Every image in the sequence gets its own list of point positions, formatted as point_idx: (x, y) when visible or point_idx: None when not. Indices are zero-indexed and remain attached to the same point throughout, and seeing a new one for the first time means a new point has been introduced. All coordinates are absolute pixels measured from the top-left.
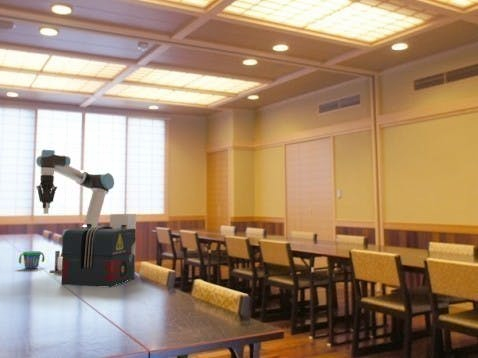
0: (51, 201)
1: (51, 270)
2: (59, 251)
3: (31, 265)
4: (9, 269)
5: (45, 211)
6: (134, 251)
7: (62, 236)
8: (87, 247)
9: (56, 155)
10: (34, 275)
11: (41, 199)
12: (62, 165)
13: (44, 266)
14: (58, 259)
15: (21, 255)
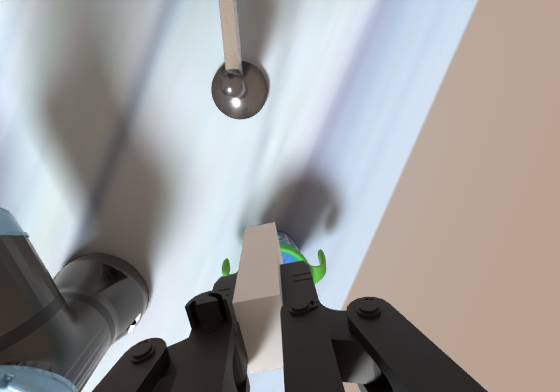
0: (160, 342)
1: (255, 106)
2: (223, 76)
3: (283, 234)
4: (346, 259)
5: (278, 246)
6: None
7: (77, 389)
8: None
9: None
10: (345, 51)
11: (410, 335)
12: None
13: (218, 265)
14: (238, 62)
15: (323, 266)
